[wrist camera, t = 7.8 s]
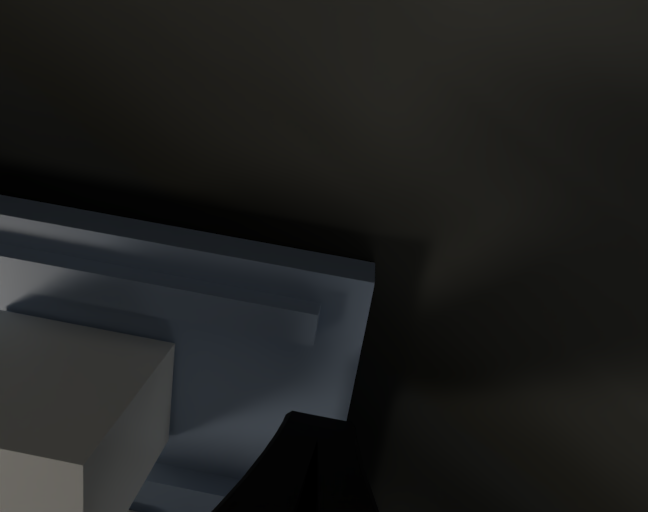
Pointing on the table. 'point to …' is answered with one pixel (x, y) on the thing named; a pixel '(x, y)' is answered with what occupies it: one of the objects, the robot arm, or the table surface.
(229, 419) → the switch bank
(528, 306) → the table surface
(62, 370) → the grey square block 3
